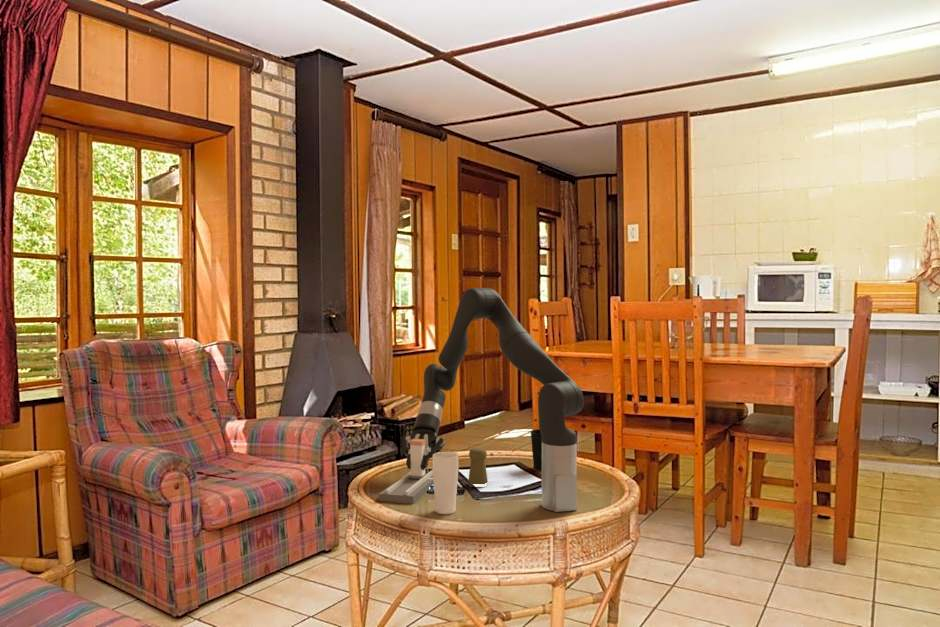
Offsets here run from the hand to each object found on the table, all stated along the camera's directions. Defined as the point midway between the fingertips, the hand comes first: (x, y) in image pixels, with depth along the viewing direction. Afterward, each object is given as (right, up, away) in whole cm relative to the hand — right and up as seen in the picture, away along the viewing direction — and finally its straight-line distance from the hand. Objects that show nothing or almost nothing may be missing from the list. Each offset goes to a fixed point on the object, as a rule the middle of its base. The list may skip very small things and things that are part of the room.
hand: (415, 467), depth 207 cm
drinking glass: (+10, -7, -23) cm, 26 cm away
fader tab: (0, -3, +2) cm, 4 cm away
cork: (+18, -6, +2) cm, 19 cm away
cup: (+39, -5, +21) cm, 45 cm away
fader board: (-1, -6, -4) cm, 7 cm away
